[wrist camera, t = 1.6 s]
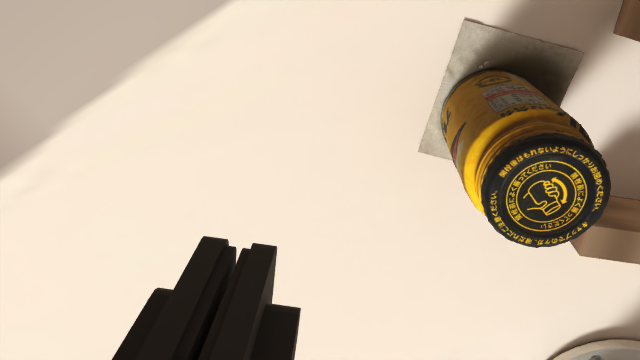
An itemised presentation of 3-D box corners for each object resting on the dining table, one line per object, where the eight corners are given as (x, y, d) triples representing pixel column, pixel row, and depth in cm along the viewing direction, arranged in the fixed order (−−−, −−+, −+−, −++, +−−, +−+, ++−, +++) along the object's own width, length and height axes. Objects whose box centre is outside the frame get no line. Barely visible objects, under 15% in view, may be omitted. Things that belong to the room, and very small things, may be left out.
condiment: (417, 150, 34) (442, 244, 23) (463, 19, 31) (517, 56, 20) (525, 178, 35) (599, 284, 24) (582, 51, 31) (700, 105, 20)
